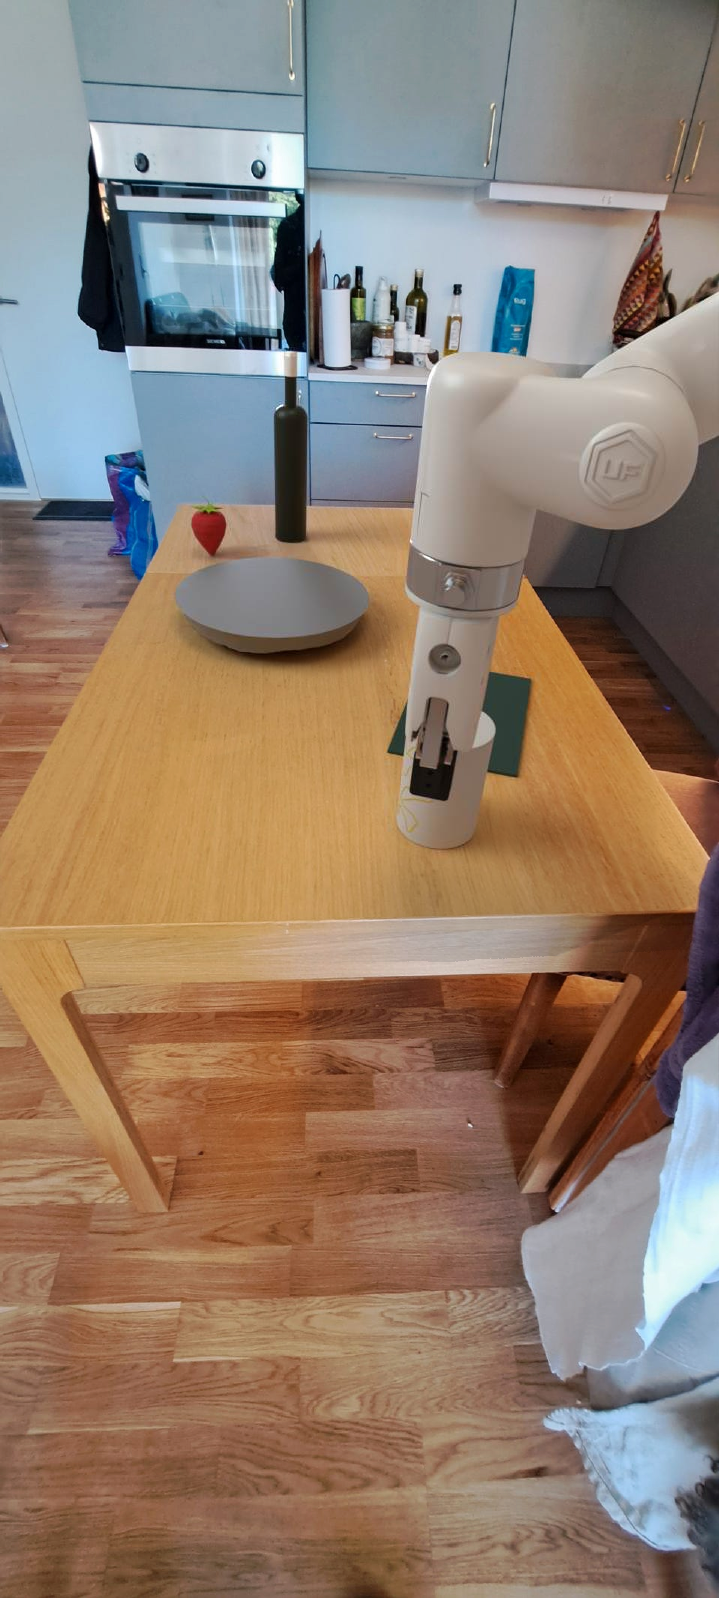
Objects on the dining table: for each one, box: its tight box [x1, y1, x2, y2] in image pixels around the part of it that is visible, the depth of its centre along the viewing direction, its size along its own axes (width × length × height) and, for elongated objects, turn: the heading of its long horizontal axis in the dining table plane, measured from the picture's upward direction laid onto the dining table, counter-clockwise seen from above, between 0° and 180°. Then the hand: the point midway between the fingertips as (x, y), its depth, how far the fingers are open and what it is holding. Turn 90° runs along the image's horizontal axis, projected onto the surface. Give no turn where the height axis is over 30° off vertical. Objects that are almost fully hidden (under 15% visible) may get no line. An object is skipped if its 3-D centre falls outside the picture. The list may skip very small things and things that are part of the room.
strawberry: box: [190, 495, 227, 556], centre depth 125 cm, size 6×8×10 cm
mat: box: [386, 671, 532, 778], centre depth 92 cm, size 15×23×1 cm, turn 166°
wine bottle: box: [273, 350, 309, 543], centre depth 128 cm, size 6×6×30 cm
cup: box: [395, 711, 495, 850], centre depth 72 cm, size 8×8×12 cm
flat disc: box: [174, 556, 370, 654], centre depth 108 cm, size 28×28×4 cm
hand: (429, 791), depth 60 cm, fingers closed
